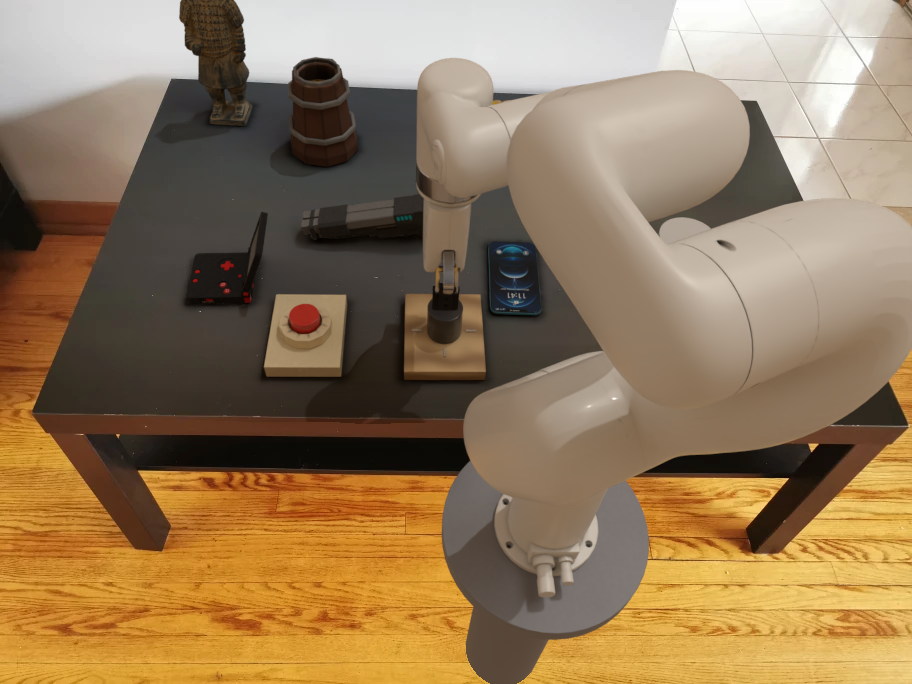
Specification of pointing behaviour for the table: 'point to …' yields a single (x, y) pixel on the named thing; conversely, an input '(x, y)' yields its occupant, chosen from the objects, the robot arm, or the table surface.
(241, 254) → the handheld gaming console
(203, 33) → the statue
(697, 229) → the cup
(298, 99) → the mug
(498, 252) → the smartphone
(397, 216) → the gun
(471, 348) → the dial panel
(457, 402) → the table surface
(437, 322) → the dial
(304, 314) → the press button
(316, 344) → the block
